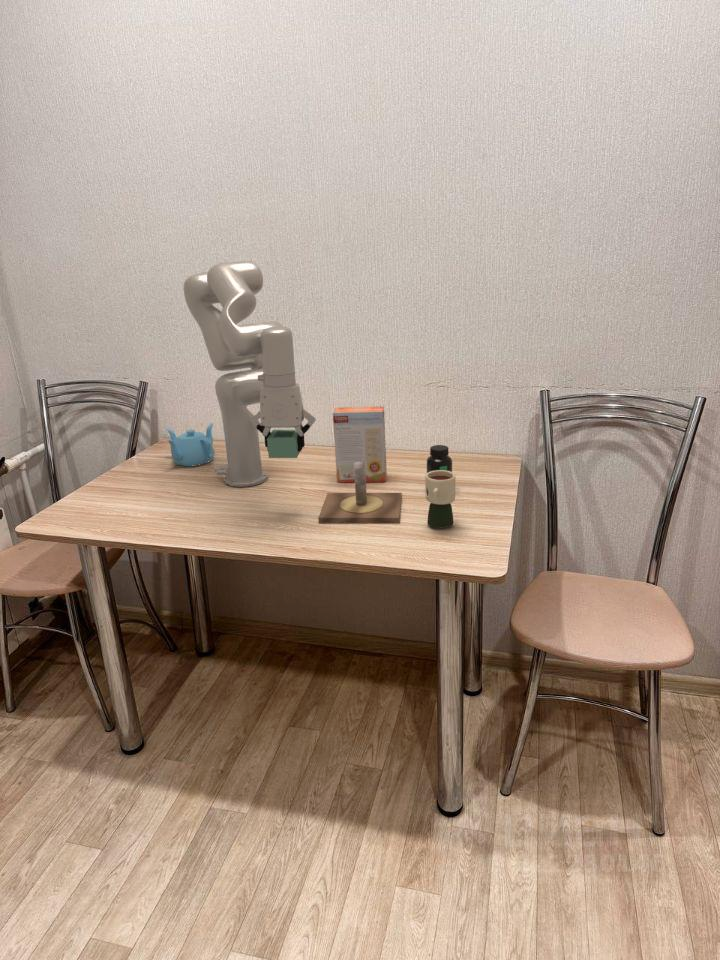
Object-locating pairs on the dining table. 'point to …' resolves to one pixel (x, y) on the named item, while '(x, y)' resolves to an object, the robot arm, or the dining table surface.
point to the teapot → (192, 447)
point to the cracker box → (360, 442)
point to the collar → (283, 444)
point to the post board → (372, 517)
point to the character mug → (440, 497)
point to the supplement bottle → (439, 459)
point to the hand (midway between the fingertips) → (285, 449)
